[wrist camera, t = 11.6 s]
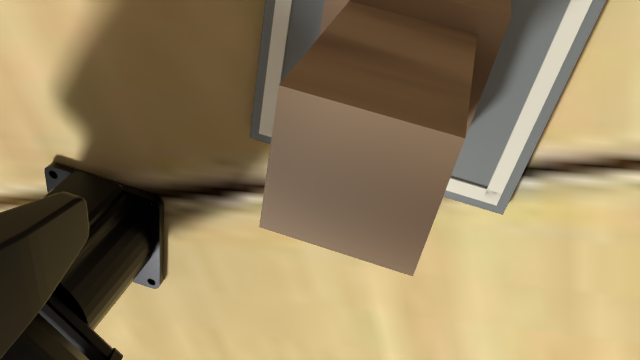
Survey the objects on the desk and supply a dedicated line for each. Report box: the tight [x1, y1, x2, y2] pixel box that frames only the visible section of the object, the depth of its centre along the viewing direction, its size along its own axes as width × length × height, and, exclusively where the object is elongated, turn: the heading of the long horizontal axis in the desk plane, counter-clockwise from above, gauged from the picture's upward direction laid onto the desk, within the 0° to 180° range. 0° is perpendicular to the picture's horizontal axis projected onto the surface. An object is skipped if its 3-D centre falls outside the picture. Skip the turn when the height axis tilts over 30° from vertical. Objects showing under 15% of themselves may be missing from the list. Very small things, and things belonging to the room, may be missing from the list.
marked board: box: [250, 0, 606, 215], centre depth 20 cm, size 11×11×1 cm
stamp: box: [259, 0, 512, 276], centre depth 16 cm, size 6×6×9 cm
